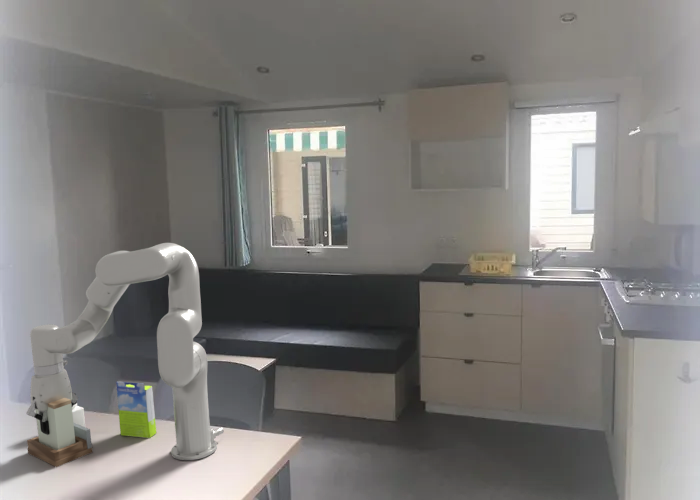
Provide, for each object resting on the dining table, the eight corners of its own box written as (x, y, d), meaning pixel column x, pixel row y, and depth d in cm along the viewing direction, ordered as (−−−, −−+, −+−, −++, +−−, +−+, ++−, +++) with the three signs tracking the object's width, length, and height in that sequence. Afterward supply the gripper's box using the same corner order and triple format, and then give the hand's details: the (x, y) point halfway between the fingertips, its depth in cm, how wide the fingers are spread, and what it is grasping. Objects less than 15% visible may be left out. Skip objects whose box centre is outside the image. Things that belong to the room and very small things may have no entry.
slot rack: (63, 439, 186) (61, 417, 185) (92, 452, 177) (90, 429, 176) (28, 453, 178) (25, 430, 177) (56, 467, 168) (53, 443, 167)
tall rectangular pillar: (56, 438, 182) (51, 392, 180) (75, 446, 175) (71, 399, 173) (39, 444, 178) (34, 398, 176) (58, 453, 171) (53, 405, 170)
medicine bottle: (73, 424, 198) (70, 388, 196) (86, 429, 194) (82, 392, 192) (52, 432, 192) (48, 395, 191) (64, 437, 188) (60, 399, 186)
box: (157, 433, 188) (152, 379, 186) (149, 439, 184) (144, 383, 182) (127, 430, 191) (122, 377, 189) (119, 436, 187) (114, 381, 185)
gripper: (70, 358, 183) (76, 417, 185) (11, 375, 169) (19, 438, 171) (84, 362, 178) (90, 422, 180) (25, 379, 165) (32, 444, 167)
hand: (55, 429), depth 176 cm, fingers closed on tall rectangular pillar, 4 cm apart
